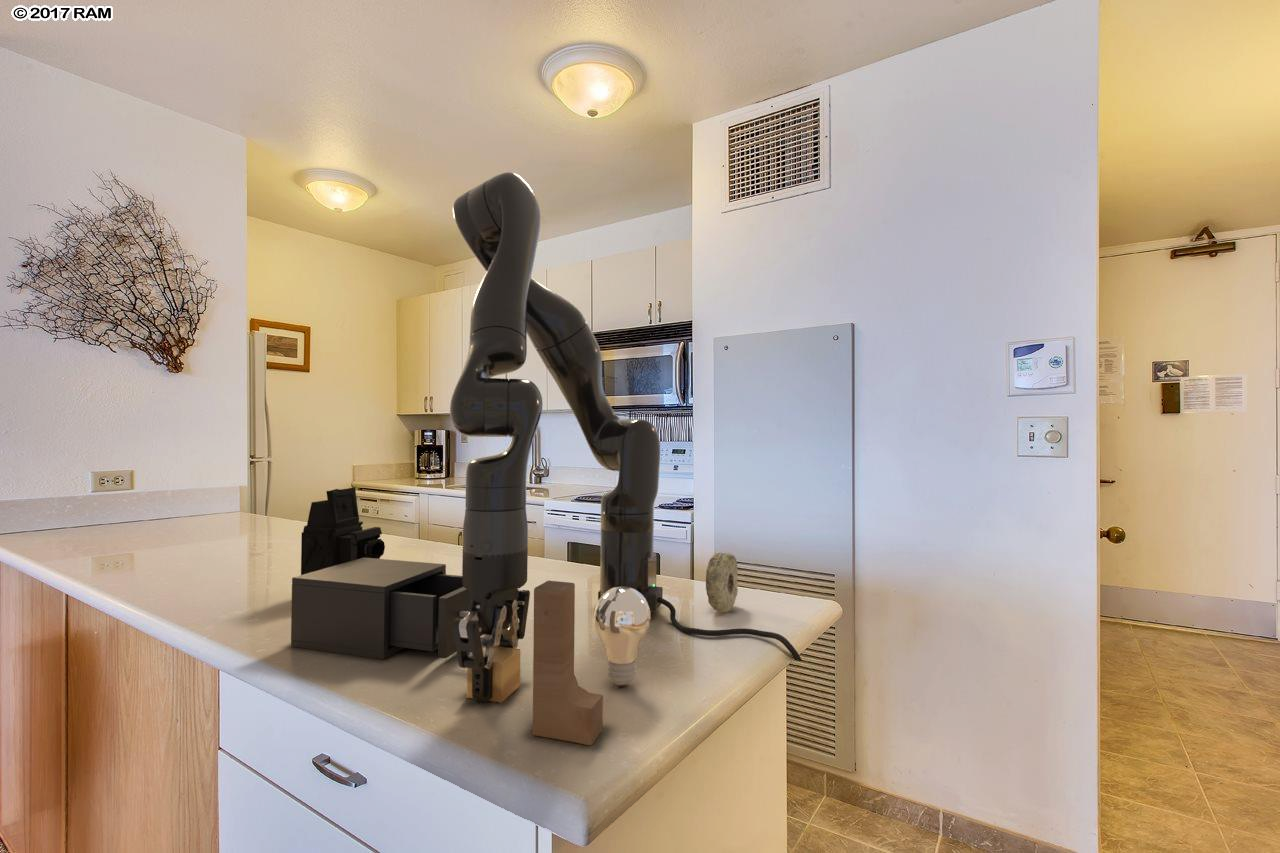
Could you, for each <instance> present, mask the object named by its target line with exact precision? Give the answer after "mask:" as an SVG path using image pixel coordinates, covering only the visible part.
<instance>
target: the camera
mask: <svg viewBox="0 0 1280 853" xmlns="http://www.w3.org/2000/svg"><path fill="white" fill-rule="evenodd" d="M306 522H307V523H306V525H304V526H303V530H302V532H301V546H300V547H301V549H300V551H301V552H300V575H304V574H307V573H311V572H314V571H318V570H321V569H325V568H328V567H332V566H335V565H339V564H343V563H346V562H350V561H353V560H357V559H360V558H376V559H381V557H382V556H383V555H384V553H385V547H386V545H385V542H384V540H382V539H381V535H382V534H383V532H382V528H381V527H380V526H373V527H370V528H365V529H363V526H362V525H363V524H364V521H360V516H359V507H358V500H357V491H356V486H355V487H349V488H341V489H339V488H334V489H331V490H326V499H325V500H319V501H311V504H310V509H309V513H308V518H307V521H306Z"/></svg>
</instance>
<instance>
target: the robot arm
mask: <svg viewBox="0 0 1280 853" xmlns="http://www.w3.org/2000/svg"><path fill="white" fill-rule="evenodd" d="M452 213H453V214H452V215H453V218H454V221H455V224H456V226H457V229H458V231H459V233H460V235H461V237H462V238H463V240H464V242H465V243H466V245H467V247H468V248H469V249H470V251H471V252H472V254H473V255H474V257H475V258H476V260H478V262H479V264H480V265H481V266H482V267H483V270H484V271H486V273H485V274H484V276H483V279H482V280H481V282H480V285H479V286H478V288H477V291H476V293H475V295H474V298H473V302H472V303H473V304H472V306H471V312H470V323H469V324H470V325H469V342H468V352H467V356H466V360H465V363H464V365H463V367H462V368H463V369H462V371H461V374H460V376H459V378H458V380H457V382H456V385H455V387H454V389H453V394H452V396H451V399H450V404H449V415H450V420H451V423H452V425H453V427H454V429H456V431H457V432H458V433H459V434H461V435H462V436H465V437H471V438H511V442H510V445H509V446H508V447H507V449H506V450H504V451H503V452H500V453H497V454H492V455H488V456H483V457H478V458H475V459H472V460H471V461H469V463H468V464H467V466H466V469H465V471H466V472H465V511H464V519H463V525H462V560H461V561H462V564H461V565H462V566H461V567H462V568H461V569H462V570H461V572H462V573H461V576H462V584H463V586H464V588H466V589H468V590H469V591H470V593H471V594H472V597H471V602H470V606H469V614H468V615H467V616H466V617H465V618H464V619H458V618H456V619H455V620H454V622H453V631H454V637H455V643H456V649H457V652H456V655H457V660H458V666H459V668H462V669H467V668H471V669H472V697H473V698H472V699H473V700H475V701H479V702H488V700H490V699H491V698H492V686H493V667H492V663H493V657H494V651H495V648H496V647H497V646H499V647H507V648H515V649H518V646H519V640H523V639H524V638H525V634H526V629H527V628H526V627H527V620H528V614H529V613H528V612H529V605H530V598H531V591H530V590H529V589H528V590H527V589H520V588H522V587H524V586H525V585H526V584H527V582H528V564H529V563H528V561H529V560H528V556H529V553H528V552H529V551H528V550H529V547H528V546H529V523H528V517H527V515H528V514H527V478H528V476H527V475H528V466H529V458H530V454H531V450H532V446H533V443H534V439H535V436H536V433H537V430H538V426H539V423H540V420H541V416H542V413H543V404H544V403H543V397H542V393H541V391H540V389H539V388H538V386H537V385H536V384H535V383H534V382H533V381H532V380H530V379H526V378H500V377H497V376H501V375H506V374H511V373H513V372H515V371H518V370H519V369H521V368H522V367H523V366H524V364H525V363H526V360H527V355H528V354H527V350H528V349H527V346H528V345H527V344H528V343H527V342H528V341H527V338H529V340H530V342H531V344H532V345H533V348H534V349H535V351H536V353H537V354H538V356H539V357H540V359H541V361H542V363H543V364H544V366H545V368H546V369H547V371H548V372H549V374H550V376H551V377H552V378H553V380H554V382H555V383H556V385H557V387H558V388H559V390H560V392H561V394H562V395H563V397H564V399H565V401H566V403H567V404H568V406H569V408H570V410H571V411H572V413H573V415H574V417H575V419H576V421H577V423H578V425H579V427H580V430H581V433H582V435H583V437H584V439H585V441H586V443H587V445H588V447H589V449H590V451H591V453H592V455H593V457H594V458H595V460H596V461H597V463H598V464H599V465H600V466H601V467H603V468H604V469H606V470H608V471H613V472H618V478H617V484H616V486H615V487H614V488H613V489H612V490H610V491H608V492H605V493H603V494H602V496H601V499H600V553H599V554H600V555H599V556H600V557H599V558H600V559H599V560H600V562H599V563H600V564H599V566H600V568H599V575H600V576H599V590H598V592H597V593H598V594H597V602H598V601H599V599H600V598H601V596H602V595H603V594H604V593H605V592H607V591H608V590H610V589H612V588H614V587H618V586H627V587H631V588H633V589H635V590H637V591H638V592H640V593H641V594H642V595H643V596H644V598H645V599H646V601H647V603H648V605H649V609H650V614H651V615H652V613H653V612H657V610H658V609H660V607H661V606H662V605H663V606H665V607H666V608H667V609H669V611H670V614H669V620H670V622H671V623H672V625H673V626H674V627H675V629H677V630H678V631H680V632H682V633H685V634H692V635H698V636H704V637H721V636H723V637H724V636H733V635H734V636H735V635H750V636H757V637H760V638H761V637H762V638H768V639H773V640H776V641H778V642H780V643H781V644H782V645H783V646H784V647H785V648H786V649H787V650H788V652H789V654H790V655H791V656H792V657H793V659H794V660H795V661H798V662H801V661H803V659H802V658H801V656H800V654H799V652H798V651H797V650H796V649H795V647H794V646H793V644H792V643H791V642H790V641H789V640H788V638H786V637H785V636H783V635H782V634H779V633H776V632H773V631H766V630H759V629H753V628H745V627H742V628H740V627H738V628H737V627H736V628H727V629H702V628H696V627H695V628H694V627H687V626H683V625H682V624H681V623H680V622H679V621H678V620H677V618H676V615H677V613H676V612H677V611H676V608H675V606H674V605H673V604H672V603H671V602H670V601H668V600H667V599H665V598H663V596H664V594H663V590H664V589H663V588H664V587H663V586H657V560H658V559H657V553H656V552H654V533H655V532H654V528H655V527H654V526H655V525H654V524H655V522H654V521H655V519H654V518H655V517H654V516H655V515H654V514H655V513H654V512H655V502H656V499H657V497H658V496H657V495H658V492H659V482H660V464H661V441H660V435H659V433H658V430H657V428H656V427H655V425H654V424H653V423H652V422H650V421H649V420H646V419H643V418H642V419H641V418H639V419H638V418H627V419H625V418H620V416H618V415H617V414H616V411H615V410H614V408H613V407H612V406H611V404H610V402H609V400H608V398H607V396H606V394H605V390H604V387H603V360H602V352H601V348H600V345H599V342H598V340H597V339H596V337H595V335H594V333H593V331H592V329H591V327H590V326H589V323H588V322H587V320H586V318H585V317H584V315H583V313H582V312H581V311H580V309H579V308H578V307H576V306H575V305H574V304H573V303H571V302H570V301H569V300H567V299H566V298H565V297H563V296H562V295H560V294H558V293H556V292H555V291H553V290H551V289H550V288H548V287H546V286H545V285H543V284H542V283H540V282H539V281H538V280H536V279H535V278H534V277H532V274H533V269H534V264H535V258H536V252H537V247H538V242H539V237H540V231H541V224H542V223H541V221H542V220H541V218H542V217H541V210H540V205H539V202H538V199H537V197H536V195H535V193H534V191H533V189H532V188H531V186H530V185H529V184H528V183H527V181H525V179H523V177H521V176H520V175H519V174H517V173H514V172H512V171H511V172H510V171H508V172H507V171H506V172H502V173H500V174H497V175H494V176H492V177H491V178H489V179H487V180H485V181H484V182H482V183H480V184H478V185H476V186H475V187H473V188H471V189H469V190H468V191H466V192H464V193H463V194H461V195H459V196H457V198H456V199H455V200H454V202H453V205H452ZM496 377H497V378H496ZM480 634H483V635H482V636H484V635H485V636H491V637H490V638H484V637H482V636H480ZM483 647H486V652H485V657H484V656H483V650H482V649H483Z"/></svg>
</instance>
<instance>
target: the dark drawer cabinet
mask: <svg viewBox="0 0 1280 853" xmlns="http://www.w3.org/2000/svg"><path fill="white" fill-rule="evenodd" d="M433 574H446V575H447V564H445V563H437V562H436V563H435V562H423V561H412V560H411V561H410V560H398V559H388V558H386V559H385V558H380V559H376V558H360V559H357V560H353V561H350V562H346V563H343V564H339V565H335V566H332V567H328V568H325V569H321V570H318V571H314V572H311V573H307V574H304V575H301V574H300V575H296V576H293V577H292V578H291V616H290V618H291V619H290V647H293V648H300V649H307V650H308V649H309V650H315V651H320V652H328V653H335V654H343V655H350V656H358V657H364V658H371V659H378V660H379V659H380V660H385V659H387V658H389V657H391V656H393V655H394V654H396V653H398V652H400V651H402V650H403V649H405V648H403V647H396V646H388V628H389V591H391V590H394V589H397V588H399V587H402V586H404V585H407V584H410V583H412V582H415V581H418V580H420V579H423V578H425V577H428V576H431V575H433Z"/></svg>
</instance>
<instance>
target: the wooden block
mask: <svg viewBox="0 0 1280 853" xmlns="http://www.w3.org/2000/svg"><path fill="white" fill-rule="evenodd" d="M575 602H576V584H575V583H574V582H568V581H558V580H546V581H545V582H542V583H541V584H539V585H537V586H535V587H534V589H533V651H532V652H533V655H532V656H533V658H532V659H533V660H532V661H533V663H532V664H533V665H532V678H533V679H532V731H531V732H532V736H537V737H542V738H549V739H554V740H560V741H565V742H571V743H577V744H580V745H586V746H592V745H593V744H594V742H595V741H596V740H597V739H598V737H599V735H600V734H601V733H602V732H603V728H604V723H603V722H604V695H603V694H600V693H594V692H589V691H587V690H586V689H584V688H583V687H581V686H580V685H579V682H578V680H577V678H576V675H575V619H576V618H575V616H576V614H575V612H576V609H575V606H576V605H575V604H576V603H575Z"/></svg>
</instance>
